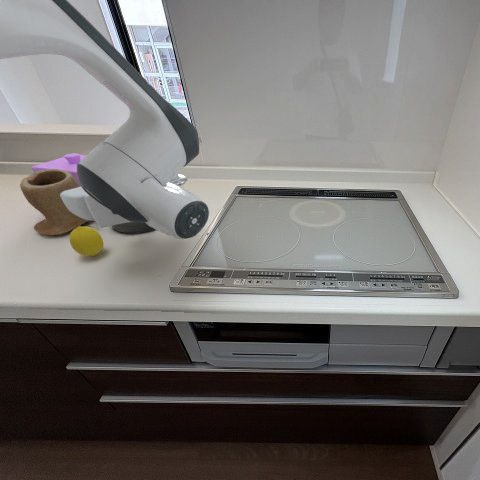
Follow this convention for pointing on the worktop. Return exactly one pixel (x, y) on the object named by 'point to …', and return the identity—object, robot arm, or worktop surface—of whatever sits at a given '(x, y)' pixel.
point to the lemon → (86, 241)
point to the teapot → (63, 165)
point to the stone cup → (51, 200)
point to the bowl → (133, 227)
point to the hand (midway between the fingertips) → (110, 178)
